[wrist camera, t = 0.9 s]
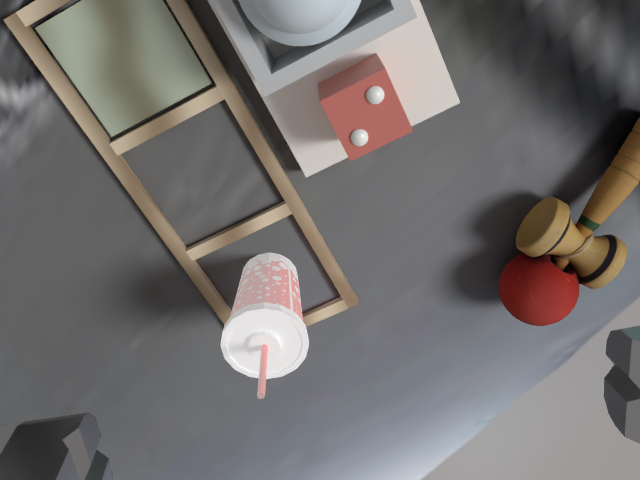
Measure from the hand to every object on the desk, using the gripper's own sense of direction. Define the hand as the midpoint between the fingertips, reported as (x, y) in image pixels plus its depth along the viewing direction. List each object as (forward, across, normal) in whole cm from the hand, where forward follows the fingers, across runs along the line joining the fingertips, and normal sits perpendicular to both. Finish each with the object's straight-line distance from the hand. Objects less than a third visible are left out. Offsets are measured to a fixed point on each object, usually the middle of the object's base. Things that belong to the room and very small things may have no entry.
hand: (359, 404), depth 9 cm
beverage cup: (+38, +3, +14) cm, 41 cm away
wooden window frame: (+37, +6, +5) cm, 38 cm away
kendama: (+36, -22, +11) cm, 43 cm away
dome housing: (+35, -4, -5) cm, 35 cm away
